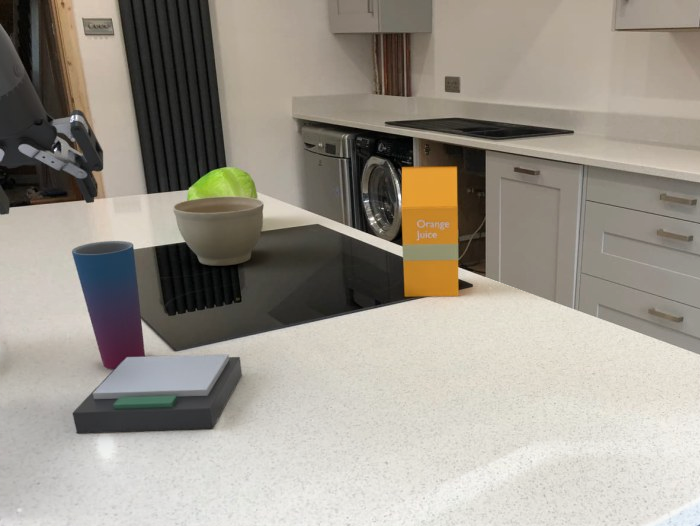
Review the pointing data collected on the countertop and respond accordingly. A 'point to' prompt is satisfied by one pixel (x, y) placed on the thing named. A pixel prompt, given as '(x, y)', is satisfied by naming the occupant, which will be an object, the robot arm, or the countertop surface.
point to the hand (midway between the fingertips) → (48, 203)
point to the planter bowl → (220, 228)
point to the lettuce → (223, 184)
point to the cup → (111, 298)
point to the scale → (160, 394)
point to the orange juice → (430, 231)
